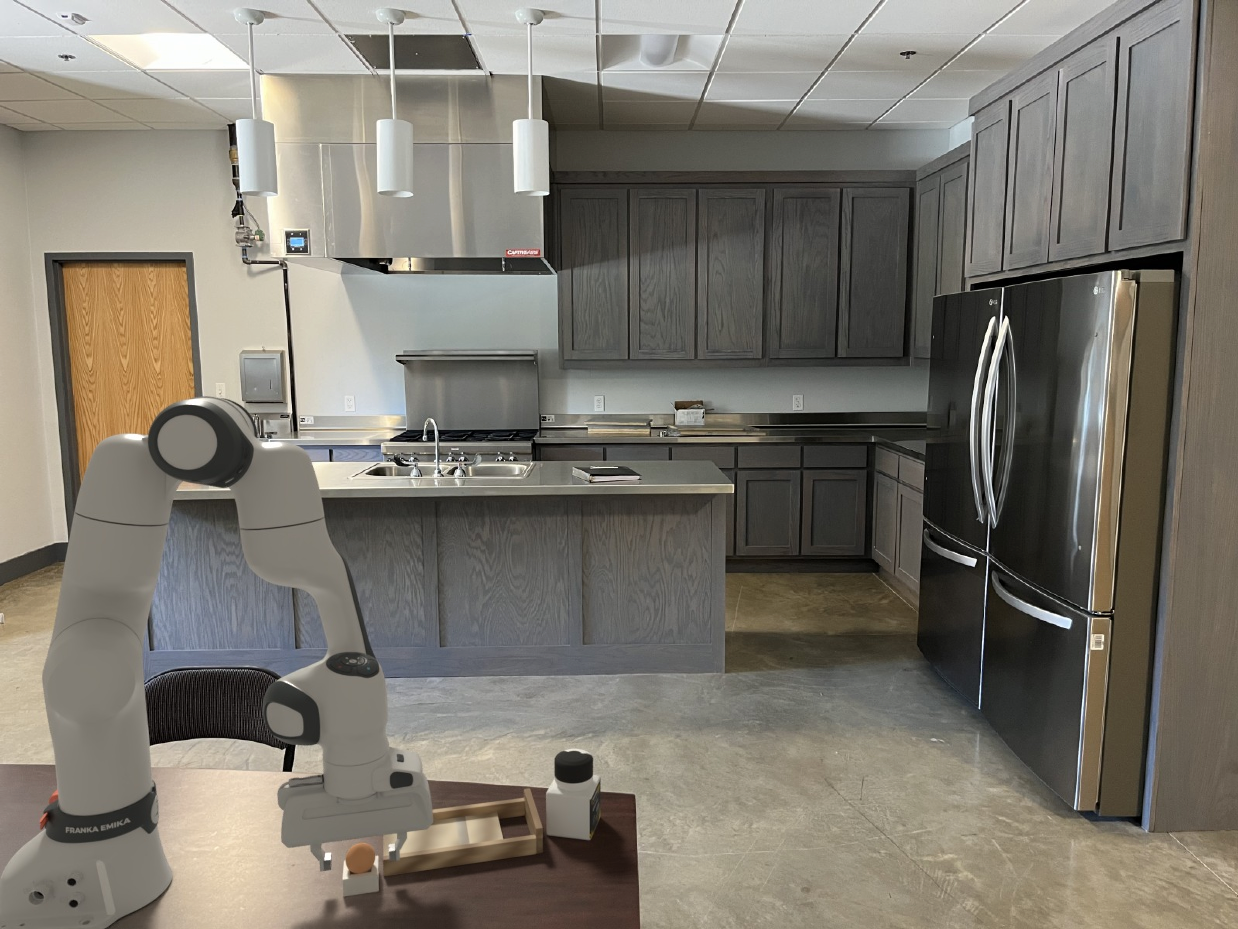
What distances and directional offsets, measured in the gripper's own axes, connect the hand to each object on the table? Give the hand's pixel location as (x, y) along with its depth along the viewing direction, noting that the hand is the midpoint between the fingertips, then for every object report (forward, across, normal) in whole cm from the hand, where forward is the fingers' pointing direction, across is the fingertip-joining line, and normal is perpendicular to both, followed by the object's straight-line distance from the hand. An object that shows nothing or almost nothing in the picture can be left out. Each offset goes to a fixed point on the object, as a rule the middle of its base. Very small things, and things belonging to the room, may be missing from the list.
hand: (360, 863), depth 122 cm
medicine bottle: (+3, +32, +7) cm, 33 cm away
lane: (+3, +14, +7) cm, 16 cm away
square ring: (+3, 0, 0) cm, 3 cm away
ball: (-1, 0, 0) cm, 1 cm away
